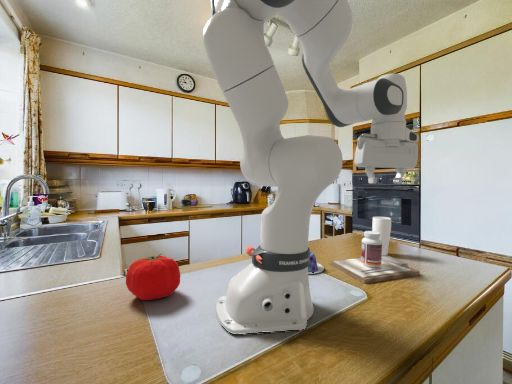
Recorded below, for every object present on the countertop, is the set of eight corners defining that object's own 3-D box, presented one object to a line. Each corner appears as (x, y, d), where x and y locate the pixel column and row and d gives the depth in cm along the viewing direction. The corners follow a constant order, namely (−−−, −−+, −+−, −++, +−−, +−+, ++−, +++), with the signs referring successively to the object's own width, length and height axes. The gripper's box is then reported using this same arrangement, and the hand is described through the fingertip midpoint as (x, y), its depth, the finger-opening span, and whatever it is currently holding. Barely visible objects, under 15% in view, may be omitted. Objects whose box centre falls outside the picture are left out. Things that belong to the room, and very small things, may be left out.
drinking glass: (390, 253, 96) (392, 217, 96) (389, 258, 91) (391, 219, 90) (372, 250, 100) (373, 215, 99) (370, 254, 94) (371, 217, 93)
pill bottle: (384, 265, 78) (386, 233, 78) (375, 269, 75) (376, 235, 74) (366, 260, 83) (368, 229, 83) (357, 263, 80) (358, 231, 79)
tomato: (176, 305, 55) (176, 262, 54) (118, 309, 53) (117, 265, 52) (183, 284, 66) (183, 248, 65) (135, 287, 64) (134, 250, 63)
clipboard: (364, 283, 68) (364, 275, 68) (330, 264, 83) (330, 257, 83) (419, 274, 75) (419, 267, 75) (378, 258, 90) (378, 252, 90)
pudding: (288, 274, 74) (288, 258, 74) (287, 261, 86) (287, 247, 86) (326, 277, 73) (327, 260, 73) (320, 263, 85) (321, 249, 84)
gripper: (367, 130, 61) (364, 183, 62) (423, 136, 68) (420, 184, 68) (350, 134, 67) (348, 183, 68) (403, 139, 74) (401, 183, 74)
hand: (385, 183), depth 68 cm, fingers open, 8 cm apart
